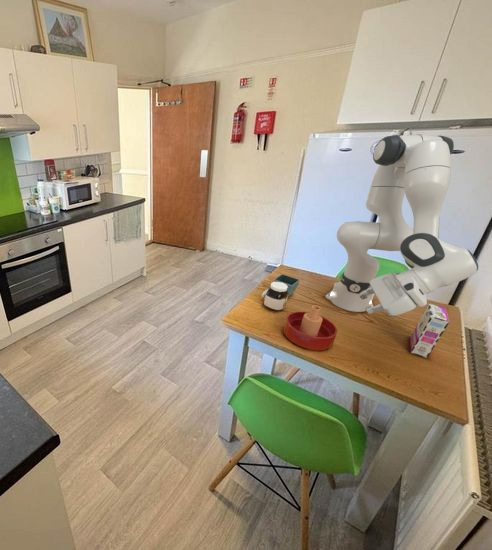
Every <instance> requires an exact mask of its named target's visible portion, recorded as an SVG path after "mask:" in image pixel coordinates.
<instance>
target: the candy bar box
mask: <svg viewBox="0 0 492 550" xmlns="http://www.w3.org/2000/svg"><path fill="white" fill-rule="evenodd" d="M449 324H450V318H449V315H448V311H447V307H444V306H441V305H437V304H433V303H427V305H426V308H425V310H424V312H423V313H422V315H421V317H420V319H419V321H418V323H417V324H416V326H415V328H414V329H413V332H412V333H411V335H410V337H409V344H410V346H409V347H410V354H413V355H415V356H416V355H417V356H419V357H422V358H425V359H428V358H429V356H430V355H431V353H432V352H433V350H434V348H435V347H436V345H437V344H438V342H439V340H440V338H441V337H442V335H443V334H444V332H445V330H446V329H447V327H448V325H449Z"/></svg>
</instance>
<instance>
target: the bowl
mask: <svg viewBox="0 0 492 550" xmlns="http://www.w3.org/2000/svg"><path fill="white" fill-rule="evenodd" d="M305 313H310V311H293V312H290V313H288V314H287V316H286V318H285V321H284V325H283V334H284V335H285V337H286V338H287V339H288V340H289V342H291V343H293V344H295V345H296V346H298V347H301V348H304V349H306V350H311V351H325V350H329V349H330V348H332V347H333V345H334V342H335V339H336V337H337V334H338V328H337V326H336V325H335V324H334V323H333V322H332V321H331V320H329V319H328V318H326V317H325V316H323V315H320V314H319V316H321V317H322V319H323V320H322V323H321V326H320V329H319V332H318V335H317V337H314V336H309V335H306V334H304V333H301V332H299V330H300V326H301V323H302V320H303V316H304V314H305Z"/></svg>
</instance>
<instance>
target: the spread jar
mask: <svg viewBox="0 0 492 550" xmlns="http://www.w3.org/2000/svg"><path fill="white" fill-rule="evenodd" d="M287 288H288V286H287V285H286V284H284V283H281V282H274V281H273V282H271V283H270V287H268V289H265V290H264V291H263V292H262V294H261V297H262V299H263V305H264V306H265V308H267V309H268V310H270V311H272V312H280V311H283V309H284V308H285V306H286V305H287V302H288V298H289V297H288V290H287Z"/></svg>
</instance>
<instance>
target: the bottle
mask: <svg viewBox="0 0 492 550" xmlns="http://www.w3.org/2000/svg"><path fill="white" fill-rule="evenodd" d="M321 309H322V308H321V307H320V306H318V305H312V306H311V309H310V311H309V312H310V313H305V314H304V316H303V320H302V323H301V326H300V330H299V332H301V333H304V334H306V335H309V336H314V337H317V335H318V332H319V329H320V326H321V323H322V320H323V319H322V317H323V316H322V315H320V312H321ZM319 315H320V316H319ZM321 316H322V317H321Z"/></svg>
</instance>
